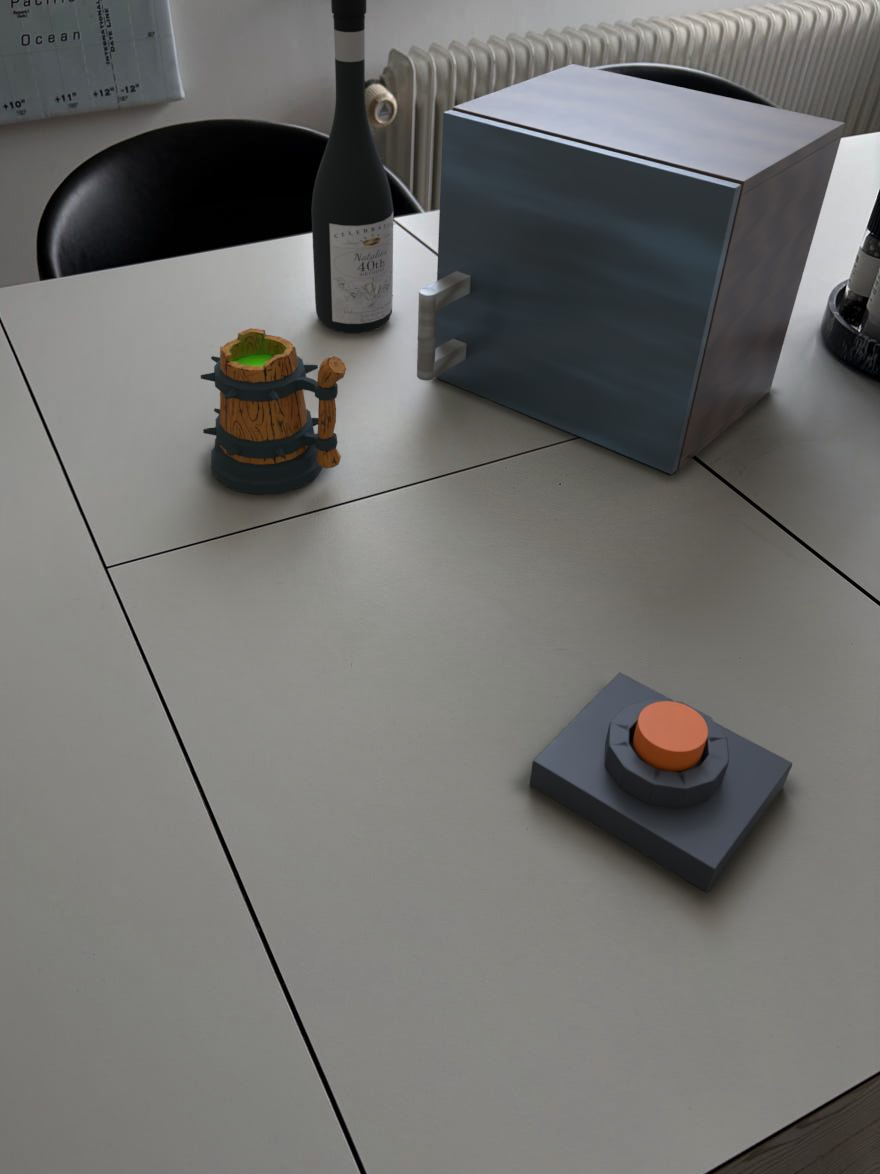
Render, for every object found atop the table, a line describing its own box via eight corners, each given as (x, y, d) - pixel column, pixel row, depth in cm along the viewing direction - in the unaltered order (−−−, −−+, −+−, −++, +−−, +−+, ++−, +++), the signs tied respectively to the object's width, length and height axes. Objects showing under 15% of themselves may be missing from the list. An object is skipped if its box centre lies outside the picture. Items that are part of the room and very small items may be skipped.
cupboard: (678, 470, 89) (744, 181, 73) (440, 373, 101) (452, 106, 85) (770, 391, 100) (845, 122, 83) (544, 311, 112) (572, 63, 95)
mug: (183, 475, 88) (164, 348, 80) (252, 420, 94) (240, 299, 87) (315, 520, 83) (308, 390, 75) (377, 459, 90) (376, 334, 82)
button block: (783, 786, 64) (801, 742, 61) (706, 892, 58) (722, 849, 55) (614, 695, 69) (623, 651, 67) (528, 784, 64) (535, 740, 61)
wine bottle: (405, 327, 109) (412, -5, 88) (338, 344, 106) (329, 4, 85) (368, 297, 114) (366, -23, 93) (303, 313, 111) (286, -15, 90)
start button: (714, 743, 61) (720, 722, 60) (681, 783, 59) (687, 763, 58) (654, 711, 63) (659, 690, 62) (620, 748, 61) (624, 728, 60)
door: (636, 504, 85) (695, 211, 69) (394, 399, 97) (397, 128, 81) (677, 470, 89) (742, 184, 73) (439, 372, 101) (450, 109, 85)
